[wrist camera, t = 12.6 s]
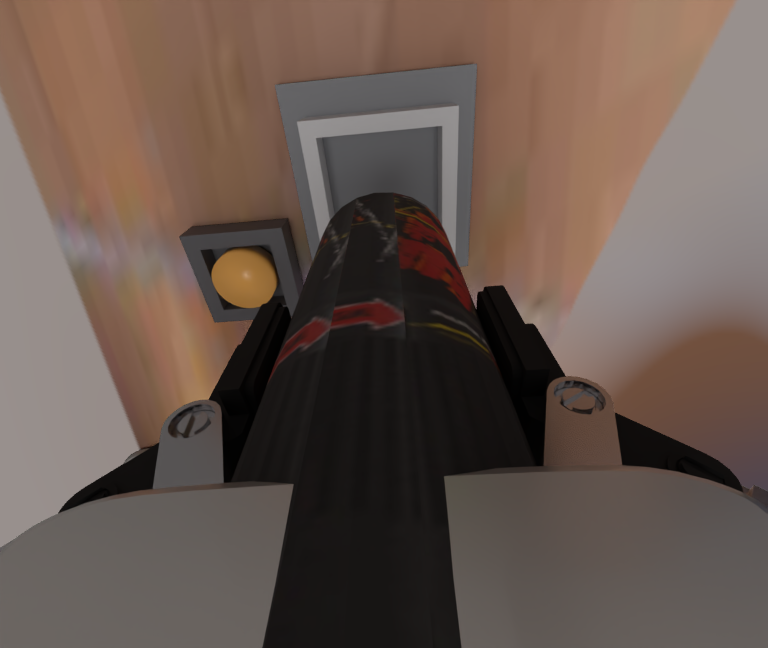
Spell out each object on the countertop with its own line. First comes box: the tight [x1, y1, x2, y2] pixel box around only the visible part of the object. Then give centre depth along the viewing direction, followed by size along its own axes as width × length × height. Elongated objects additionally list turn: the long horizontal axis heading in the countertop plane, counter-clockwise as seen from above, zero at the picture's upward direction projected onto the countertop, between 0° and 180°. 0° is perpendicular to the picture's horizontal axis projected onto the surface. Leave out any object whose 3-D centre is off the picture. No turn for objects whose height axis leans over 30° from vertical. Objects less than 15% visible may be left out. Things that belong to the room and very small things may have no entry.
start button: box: [212, 245, 280, 308], centre depth 31 cm, size 5×5×2 cm
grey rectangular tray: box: [275, 64, 477, 267], centre depth 27 cm, size 14×13×4 cm
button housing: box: [179, 218, 303, 322], centre depth 31 cm, size 8×8×2 cm
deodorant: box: [231, 192, 537, 648], centre depth 11 cm, size 6×6×15 cm
